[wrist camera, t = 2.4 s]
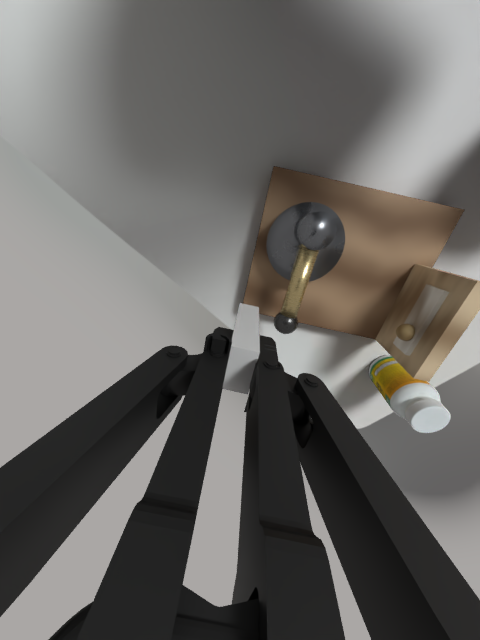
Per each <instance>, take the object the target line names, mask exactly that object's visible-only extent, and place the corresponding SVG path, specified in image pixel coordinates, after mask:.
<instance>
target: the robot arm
mask: <svg viewBox="0 0 480 640" xmlns="http://www.w3.org/2000/svg"><path fill="white" fill-rule="evenodd" d="M222 389H226V390H231V391H235V392H240V393H244V394H248V392H249V389H250V393H249V397H248V400H247V404H246V407H245V411H244V412H246V411H247V414H246V431H245V447H244V465H243V481H242V498H241V515H240V531H239V548H238V564H237V574H236V580H235V586H234V592H233V600H232V605H228V606H223V607H217V606H214V605H212V604H211V603H209V602H208V601H206V600H205V599H203V598H202V597H200V596H199V595H197V594H196V593H194V592H193V591H191V590H190V589H188V588H186V587H185V586H183V585H182V584H183V579H184V574H185V569H186V564H187V559H188V555H189V550H190V545H191V540H192V535H193V530H194V525H195V520H196V515H197V509H198V504H199V499H200V495H201V490H202V485H203V480H204V475H205V470H206V466H207V461H208V456H209V451H210V446H211V441H212V437H213V432H214V427H215V422H216V417H217V412H218V407H219V403H220V398H221V393H222ZM183 395H185V398H184V400H183V403H182V405H181V407H180V410H179V412H178V415H177V417H176V420H175V422H174V425H173V427H172V429H171V432H170V434H169V437H168V439H167V441H166V444H165V446H164V449H163V451H162V454H161V456H160V458H159V461H158V463H157V466H156V468H155V471H154V473H153V475H152V478H151V480H150V483H149V485H148V488H147V490H146V492H145V494H144V497H143V498H142V500H141V501H140V502H138V503H137V505H136V506H135V508H134V509H133V511H132V514H131V516H130V518H129V520H128V522H127V524H126V527H125V529H124V531H123V534H122V536H121V539H120V541H119V543H118V545H117V548H116V550H115V552H114V555H113V557H112V559H111V561H110V564H109V567H108V568H107V571H106V574H105V576H104V578H103V580H102V582H101V585H100V587H99V589H98V592H97V594H96V596H95V599H94V601H93V602H92V603H90V604H89V605H87V606H86V607H84V608H83V609H81V610H80V611H79V612H78V613H77V614H75V615H74V616H73V617H72V618H71V619H69V620H68V621H67V622H66V623H65V624H64V625H63V626H62V627H61V628H60V629H59V630H58V631H57V632H56V633H55V634H54V635H53V636H52V637H51V638H50V639H49V640H345V636H344V631H343V626H342V622H341V617H340V612H339V608H338V603H337V598H336V593H335V589H334V584H333V579H332V575H331V569H330V565H329V560H328V556H327V553H326V549H325V547H324V545H323V543H322V541H321V539H319V538H318V537H316V536H315V535H314V533H313V531H312V527H311V522H310V516H309V511H308V505H307V499H306V494H305V488H304V483H303V477H302V471H301V465H302V468H303V470H304V473H305V475H306V478H307V480H308V483H309V485H310V488H311V490H312V493H313V495H314V497H315V500H316V502H317V505H318V507H319V510H320V513H321V515H322V518H323V520H324V522H325V525H326V528H327V530H328V533H329V535H330V538H331V540H332V543H333V545H334V548H335V550H336V552H337V555H338V558H339V560H340V562H341V565H342V567H343V570H344V572H345V575H346V577H347V580H348V582H349V585H350V587H351V590H352V592H353V595H354V597H355V600H356V602H357V605H358V607H359V610H360V612H361V615H362V617H363V620H364V622H365V625H366V627H367V630H368V632H369V635H370V637H371V640H480V600H479V598H478V597H477V596H476V594H475V593H474V592H473V590H472V589H471V587H470V586H469V585H468V583H467V582H466V580H465V579H464V578H463V576H462V575H461V573H460V572H459V571H458V569H457V568H456V567H455V565H454V564H453V562H452V561H451V560H450V558H449V557H448V555H447V554H446V553H445V551H444V550H443V548H442V547H441V546H440V544H439V543H438V541H437V540H436V539H435V537H434V536H433V535H432V533H431V532H430V530H429V529H428V528H427V526H426V525H425V524H424V522H423V521H422V519H421V518H420V516H419V515H418V514H417V512H416V511H415V510H414V508H413V507H412V505H411V504H410V503H409V501H408V500H407V498H406V497H405V496H404V495H403V493H402V491H401V490H400V489H399V487H398V486H397V484H396V483H395V482H394V480H393V479H392V477H391V476H390V475H389V473H388V472H387V471H386V469H385V468H384V466H383V465H382V464H381V462H380V461H379V459H378V458H377V457H376V455H375V454H374V452H373V451H372V450H371V448H370V447H369V446H368V444H367V443H366V442H365V440H364V439H363V437H362V436H361V434H360V433H359V432H358V430H357V429H356V427H355V426H354V425H353V423H352V422H351V420H350V419H349V418H348V416H347V415H346V414H345V412H344V411H343V409H342V408H341V407H340V405H339V404H338V402H337V401H336V400H335V398H334V397H333V395H332V394H331V393H330V391H329V390H328V388H327V387H326V386H325V384H324V383H323V382H322V381H321V380H320V379H319V378H318V377H316V376H314V375H312V374H308V373H301V374H300V375H299V376H298V378H296V377H293V376H291V375H289V374H287V373H285V372H284V369H283V366H282V364H281V363H280V362H278V356H277V350H276V343H275V341H274V340H273V339H272V338H270V337H266V336H261V335H259V307H256V306H251V305H247V304H242V303H240V304H239V309H238V313H237V318H236V322H235V327H234V330H231V329H226V328H221V327H218V328H216V329H215V330H214V332H213V333H212V334H209V335H208V336H207V337H206V341H205V347H204V352H203V353H202V354H198V355H188V353H187V351H186V350H185V349H184V348H182V347H179V346H167V347H164V348H162V349H161V350H160V351H158V352H157V353H155V354H154V355H153V356H151V357H150V358H149V359H147V360H146V361H145V362H143V363H142V364H141V365H139V366H138V367H136V368H135V369H134V370H132V371H131V372H130V373H128V374H127V375H126V376H124V377H123V378H122V379H120V380H119V381H117V382H116V383H115V384H113V385H112V386H111V387H109V388H108V389H107V390H106V391H104V392H103V393H101V394H100V395H98V396H97V397H96V398H94V399H93V400H92V401H90V402H89V403H88V404H86V405H85V406H84V407H82V408H81V409H79V410H78V411H77V412H75V413H74V414H73V415H71V416H70V417H69V418H67V419H66V420H65V421H63V422H62V423H61V424H59V425H58V426H56V427H55V428H54V429H52V430H51V431H50V432H48V433H47V434H46V435H44V436H43V437H42V438H40V439H39V440H37V441H36V442H35V443H33V444H32V445H31V446H29V447H28V448H27V449H25V450H24V451H22V452H21V453H20V454H18V455H17V456H16V457H14V458H13V459H12V460H10V461H9V462H8V463H6V464H5V465H4V466H2V467H1V468H0V617H1V615H2V614H3V613H4V612H5V611H6V610H7V609H8V608H9V606H10V605H11V604H12V603H13V602H14V601H15V599H16V598H17V597H18V596H19V595H20V594H21V593H22V591H23V590H24V589H25V588H26V587H27V586H28V585H29V583H30V582H31V581H32V580H33V578H34V577H35V576H36V575H37V574H38V572H39V571H40V570H41V569H42V567H43V566H44V565H45V564H46V563H47V561H48V560H49V559H50V558H51V557H52V555H53V554H54V553H55V552H56V551H57V549H58V548H59V547H60V546H61V544H62V543H63V542H64V541H65V539H66V538H67V537H68V536H69V535H70V533H71V532H72V531H73V530H74V529H75V527H76V526H77V525H78V524H79V523H80V521H81V520H82V519H83V518H84V516H85V515H86V514H87V513H88V512H89V510H90V509H91V508H92V507H93V506H94V504H95V503H96V502H97V501H98V499H99V498H100V497H101V496H102V495H103V493H104V492H105V491H106V490H107V488H108V487H109V486H110V485H111V484H112V482H113V481H114V480H115V479H116V478H117V476H118V475H119V474H120V473H121V471H122V470H123V469H124V468H125V467H126V465H127V464H128V463H129V462H130V461H131V459H132V458H133V457H134V456H135V454H136V453H137V452H138V451H139V450H140V448H141V447H142V446H143V445H144V443H145V442H146V441H147V440H148V438H149V437H150V436H151V435H152V434H153V433H154V431H155V430H156V429H157V428H158V426H159V425H160V424H161V423H162V422H163V420H164V419H165V418H166V417H167V415H168V414H169V413H170V412H171V411H172V409H173V408H174V407H175V406H176V404H177V403H178V402H179V401H180V400H181V398H182V396H183ZM311 418H312V419H311ZM300 463H301V465H300Z"/></svg>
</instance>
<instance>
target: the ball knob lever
mask: <svg viewBox="0 0 480 640" xmlns="http://www.w3.org/2000/svg"><path fill="white" fill-rule="evenodd" d="M344 245H345V231H344V226H343V224H342V221H341V220H340V218H339V216H338V215H337V214H336V213H335V212H334V211H333V210H332V209H331V208H329V207H328V206H326V205H324V204H321V203H316V202H304V203H300V204H296V205H294V206H292V207H289V208H288V209H286V210H284V211H283V212H282V213H281V214H280V215H279V216H278V217H277V218H276V219H275V220H274V222H273V223H272V225H271V227H270V229H269V232H268V235H267V241H266V248H267V254H268V258H269V261H270V263H271V265H272V267H273V268H274V270H275V271H276V272H277V273H278V274H279V275H281V276H282V277H284V278H285V279H288V280H290V282H289V285H288V288H287V292H286V295H285V298H284V301H283V305H282V308H281V311H280V312H279V313H278V314H277V315H276V316H275V319H274V326H275V328H276V329H277V330H278V331H279V332H280V333H283V334H289V333H292V332H293V331H295V329H296V328H297V326H298V318H297V314H298V311H299V308H300V305H301V302H302V300H303V297H304V294H305V291H306V288H307V285H308V282H310V281H314V280H317V279H319V278H321V277H323V276H324V275H326V274H327V273H328V272H330V271H331V270H332V269H333V268H334V266H335V265H336V264H337V262H338V261H339V259H340V257H341V255H342V253H343V250H344Z"/></svg>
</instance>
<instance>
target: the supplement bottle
mask: <svg viewBox="0 0 480 640" xmlns="http://www.w3.org/2000/svg"><path fill="white" fill-rule="evenodd" d="M369 376H370V378H371V380H372V381H373V383H374V384H375V386H376V387H377V388H378V390H379V391H380V393H381V394H382V396H383V397H384V399H385V400H386V402H387V403H388V404H389V406H390V407H391V409H392V410H393V411H394V412H395V413H396V414H397V415H398V416H400V417H402V418H404V419H406V420H407V422H408V423H409V424H410V425H411V427H412V428H413V429H414V430H416V431H418V432H421V433H431V432H436V431H438V430H441V429H442V428H444V427H445V426H446V425H447V424H448V423H449V421H450V418H451V417H450V413H449V412H448V410H447V409H446V408H445V407H444V406H443V405H442V403H440V396H439V394H438V392H437V390H436V389H435V388H434V387H433V386H432V385H431V384H430V383H428V382H427V381H423V380H419V379H414V378H413V377H412V376H411V375H410V374H409V373H408V372H407V371H406V370H405V369H404V368H403V367H402V366H401V365H400V364H399V363H398V362H397V361H396V360H395V359H394V358H393V357H392V356H391V355H385V356H381V357H379V358H377V359H376V360H375V361H374V362H373V363H372V364H371V366H370V368H369Z"/></svg>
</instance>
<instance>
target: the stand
mask: <svg viewBox="0 0 480 640" xmlns="http://www.w3.org/2000/svg"><path fill="white" fill-rule="evenodd" d="M304 202H316V203H321V204H324V205H326V206H328V207H329V208H331V209H332V210H333V211H334V212H335V213H336V214H337V215H338V216H339V218H340V220H341V221H342V224H343V226H344V231H345V245H344V250H343V253H342V255H341V257H340V259H339V261H338V262H337V264H336V265H335V266H334V268H333V269H332V270H331V271H330V272H328V273H327V274H326V275H324V276H323V277H321V278H319V279H317V280H314V281H310V282H308V285H307V288H306V291H305V294H304V297H303V300H302V302H301V305H300V308H299V311H298V314H297V318H298V322H299V323H304V324H308V325H313V326H318V327H322V328H327V329H331V330H336V331H340V332H345V333H349V334H354V335H358V336H363V337H367V338H372V339H376V340H377V342H378V343H379V344H380V345H381V346H382V347H383V348H384V349H385V350H386V351H387V352H388V353H389V354H390V355H391V356H392V357H393V358H394V359H395V360H396V361H397V362H398V363H399V364H400V365H401V366H402V367H403V368H404V369H405V370H406V371H407V372H408V373H409V374H410V375H411V376H412V377H413V378H414V379H419V380H423V381H428V382H429V381H430V379H431V378H432V377H433V375H434V374H435V372H436V371H437V370H438V368H439V367H440V365H441V364H442V362H443V361H444V360H445V358H446V357H447V355H448V354H449V353H450V351H451V350H452V348H453V347H454V345H455V344H456V343H457V341H458V340H459V338H460V337H461V336H462V334H463V333H464V331H465V330H466V328H467V327H468V326H469V324H470V323H471V321H472V320H473V318H474V317H475V316H476V314H477V313H478V311H479V310H480V281H478V280H474V279H471V278H467V277H463V276H460V275H456V274H453V273H449V272H445V271H442V270H438V269H435V268H432V267H433V265H434V263H435V262H436V260H437V258H438V256H439V254H440V253H441V251H442V249H443V247H444V246H445V244H446V242H447V240H448V238H449V237H450V235H451V233H452V231H453V230H454V228H455V226H456V224H457V222H458V221H459V219H460V217H461V215H462V213H463V212H464V210H463V209H459V208H454V207H450V206H446V205H441V204H437V203H433V202H428V201H424V200H420V199H415V198H411V197H407V196H402V195H398V194H393V193H389V192H385V191H380V190H376V189H372V188H367V187H363V186H359V185H354V184H350V183H346V182H341V181H337V180H333V179H328V178H324V177H320V176H315V175H311V174H307V173H302V172H298V171H293V170H289V169H285V168H280V167H276V166H274V167H273V171H272V175H271V180H270V184H269V189H268V193H267V198H266V202H265V207H264V211H263V216H262V220H261V224H260V229H259V233H258V238H257V242H256V247H255V251H254V256H253V260H252V265H251V269H250V273H249V278H248V282H247V287H246V291H245V296H244V300H243V304H247V305H251V306H256V307H259V314H263V315H268V316H272V317H275V316H276V315H277V314H278V313H279V312H280V311H281V308H282V305H283V301H284V298H285V295H286V292H287V288H288V285H289V282H290V280H288V279H285V278H284V277H282V276H281V275H279V274H278V273H277V272H276V271H275V270H274V268H273V267H272V265H271V263H270V261H269V258H268V254H267V248H266V241H267V235H268V232H269V229H270V227H271V225H272V223H273V222H274V220H275V219H276V218H277V217H278V216H279V215H280V214H281V213H282V212H283V211H284V210H286V209H288V208H289V207H292V206H294V205H296V204H300V203H304Z"/></svg>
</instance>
